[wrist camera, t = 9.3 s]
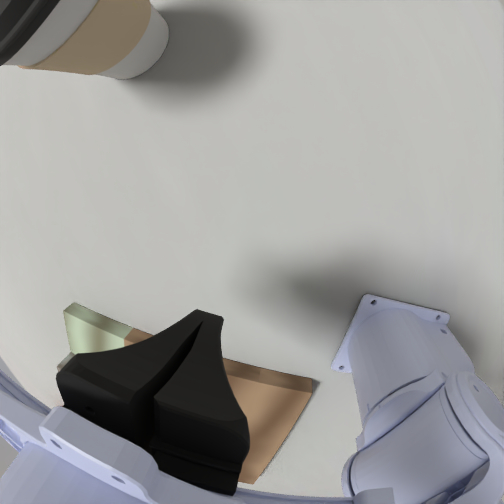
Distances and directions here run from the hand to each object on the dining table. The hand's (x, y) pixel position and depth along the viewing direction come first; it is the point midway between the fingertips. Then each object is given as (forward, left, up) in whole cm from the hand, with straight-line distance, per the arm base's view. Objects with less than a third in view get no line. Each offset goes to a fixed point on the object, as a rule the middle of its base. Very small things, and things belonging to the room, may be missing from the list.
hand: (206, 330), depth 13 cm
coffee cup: (+13, -16, -10) cm, 23 cm away
